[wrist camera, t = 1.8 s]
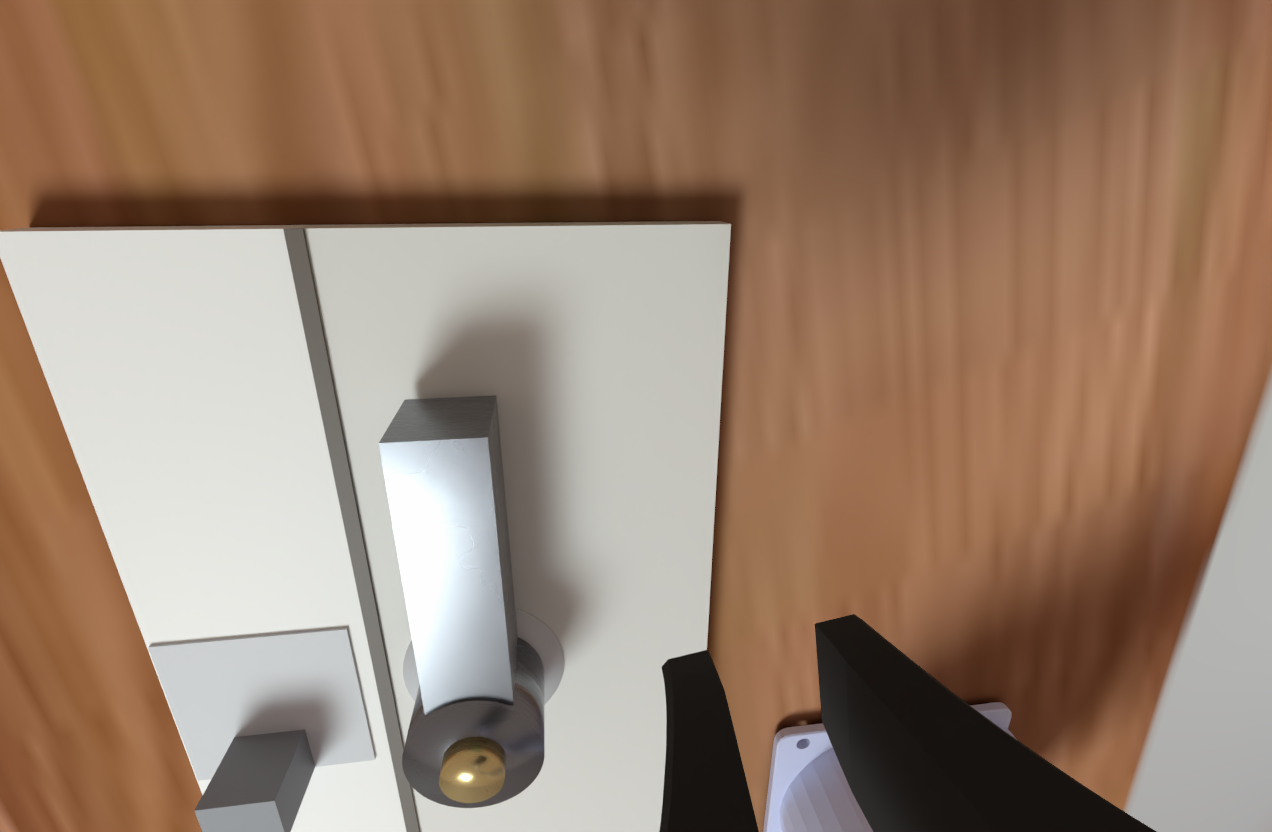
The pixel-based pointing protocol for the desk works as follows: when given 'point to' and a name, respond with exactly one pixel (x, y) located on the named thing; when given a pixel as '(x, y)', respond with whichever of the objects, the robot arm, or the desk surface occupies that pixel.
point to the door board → (356, 491)
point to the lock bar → (461, 606)
